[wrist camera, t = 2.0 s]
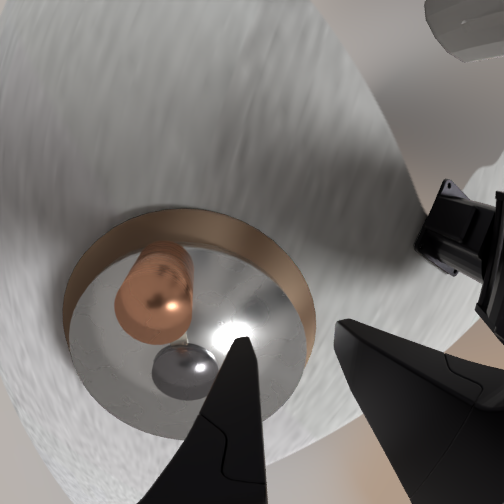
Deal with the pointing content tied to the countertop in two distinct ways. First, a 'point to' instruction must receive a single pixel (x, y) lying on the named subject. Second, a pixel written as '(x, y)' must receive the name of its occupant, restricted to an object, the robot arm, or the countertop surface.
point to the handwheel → (181, 333)
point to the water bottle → (468, 27)
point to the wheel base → (198, 231)
